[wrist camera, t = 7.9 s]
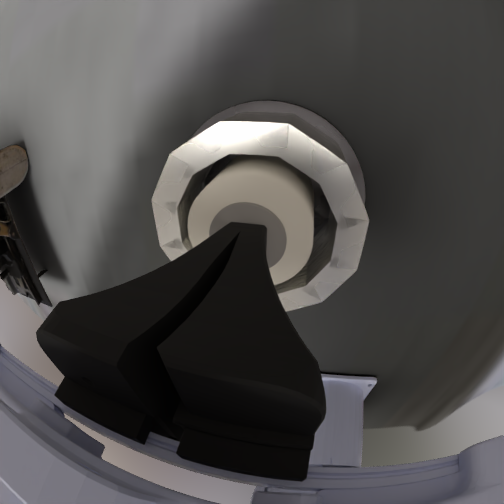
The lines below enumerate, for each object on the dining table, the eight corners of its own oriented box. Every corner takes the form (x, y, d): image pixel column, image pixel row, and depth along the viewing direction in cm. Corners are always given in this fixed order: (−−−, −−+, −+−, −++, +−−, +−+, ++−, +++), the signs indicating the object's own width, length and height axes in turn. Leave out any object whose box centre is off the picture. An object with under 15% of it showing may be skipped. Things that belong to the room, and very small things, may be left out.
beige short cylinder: (309, 243, 15) (305, 296, 12) (220, 233, 16) (193, 281, 12) (318, 153, 12) (320, 184, 9) (215, 147, 13) (178, 175, 10)
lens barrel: (345, 278, 16) (348, 329, 13) (191, 259, 18) (165, 301, 15) (375, 112, 11) (400, 124, 7) (174, 103, 12) (128, 114, 9)
